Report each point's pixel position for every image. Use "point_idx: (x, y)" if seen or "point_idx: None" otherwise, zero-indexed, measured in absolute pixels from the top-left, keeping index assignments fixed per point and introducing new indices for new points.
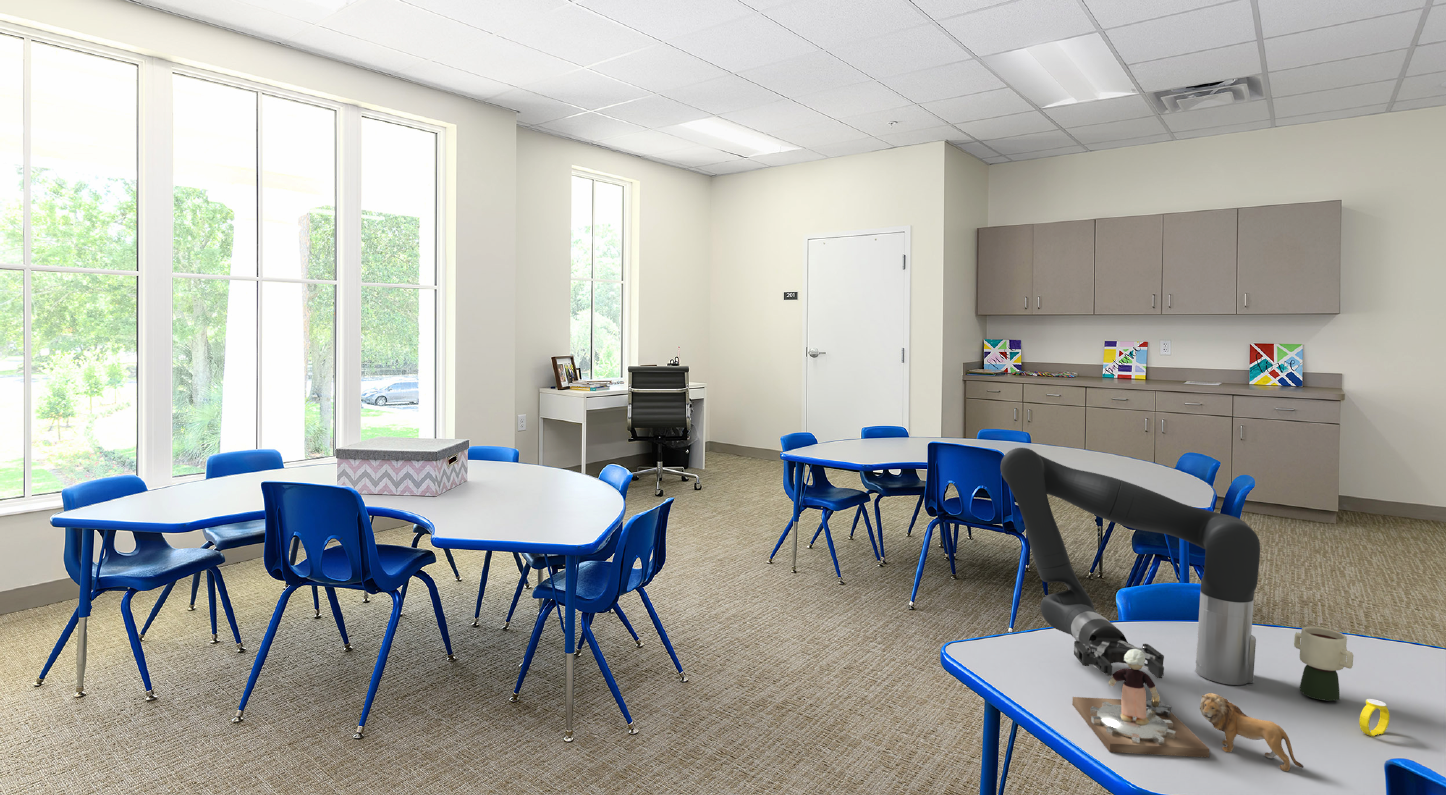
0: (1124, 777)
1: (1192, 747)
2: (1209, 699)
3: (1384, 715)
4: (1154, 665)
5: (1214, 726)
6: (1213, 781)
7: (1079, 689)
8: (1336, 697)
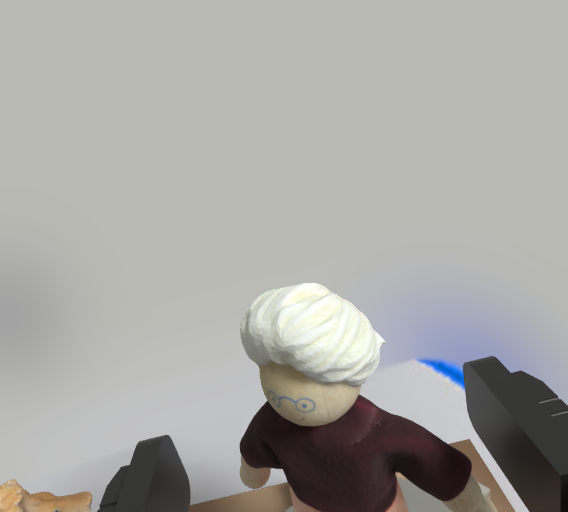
0: (429, 370)
1: (210, 504)
2: (24, 507)
3: None
4: (159, 484)
5: None
6: (234, 420)
7: None
8: None
